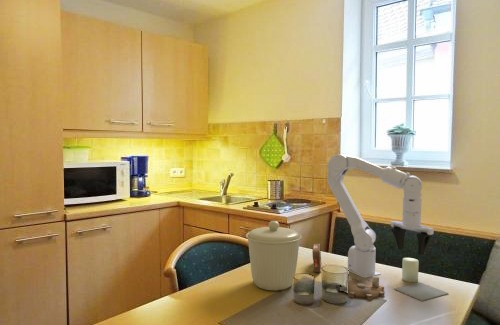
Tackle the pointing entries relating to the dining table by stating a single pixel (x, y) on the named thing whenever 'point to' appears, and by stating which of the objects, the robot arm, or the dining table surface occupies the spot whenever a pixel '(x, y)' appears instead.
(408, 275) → the sage can
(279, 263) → the canister
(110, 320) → the dining table surface
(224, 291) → the dining table surface
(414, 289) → the slate mat
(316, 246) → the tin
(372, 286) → the sprocket wheel
